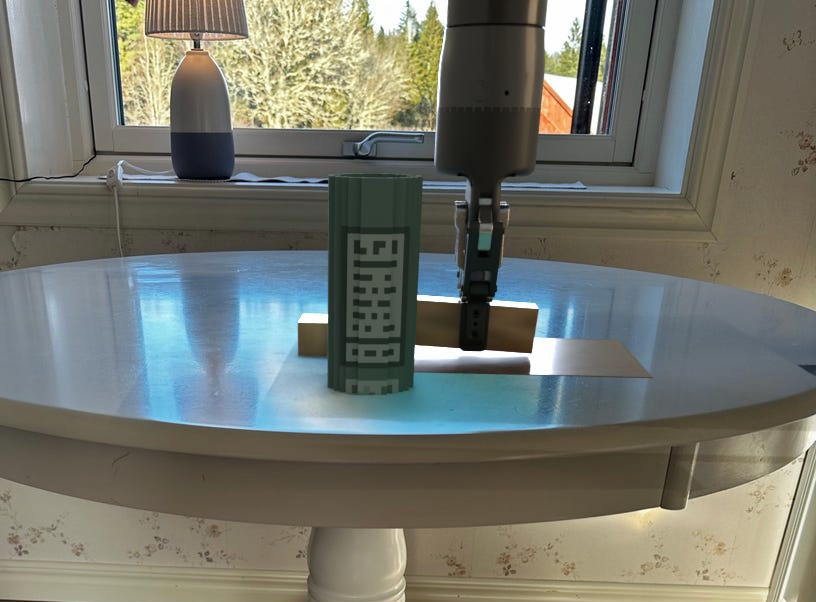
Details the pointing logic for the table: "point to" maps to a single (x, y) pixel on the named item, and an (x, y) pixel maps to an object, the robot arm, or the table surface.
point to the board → (537, 360)
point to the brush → (505, 332)
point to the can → (373, 281)
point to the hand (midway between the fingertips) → (471, 345)
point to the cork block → (313, 335)
